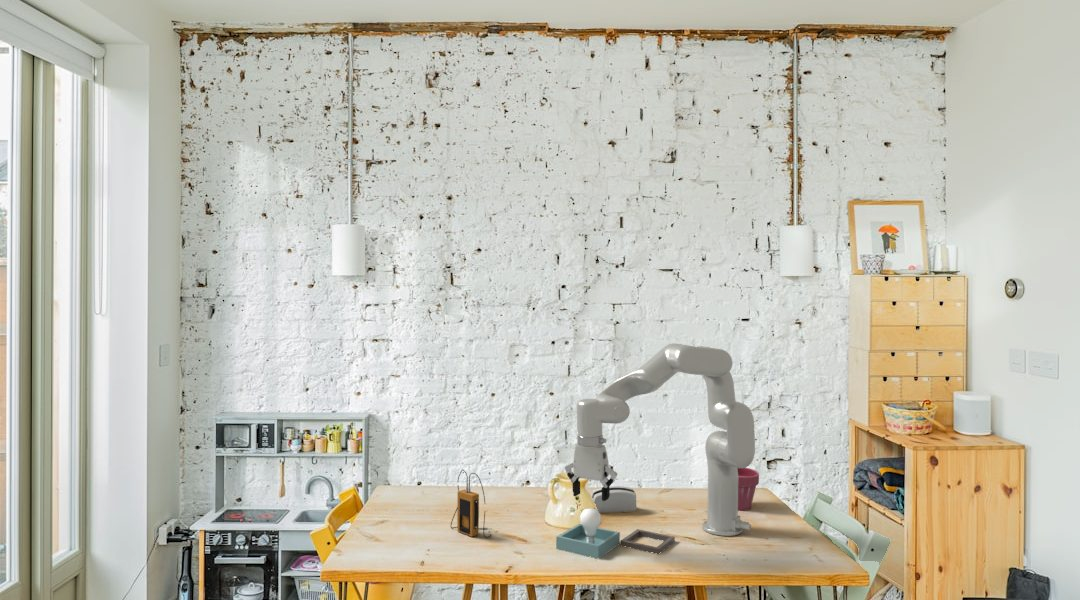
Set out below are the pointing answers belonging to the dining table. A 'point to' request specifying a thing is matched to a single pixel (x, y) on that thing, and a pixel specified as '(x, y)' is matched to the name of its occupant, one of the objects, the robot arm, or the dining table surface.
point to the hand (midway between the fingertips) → (590, 497)
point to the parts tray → (577, 542)
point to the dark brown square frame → (627, 542)
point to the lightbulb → (590, 523)
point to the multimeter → (468, 511)
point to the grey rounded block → (615, 499)
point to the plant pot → (746, 487)
